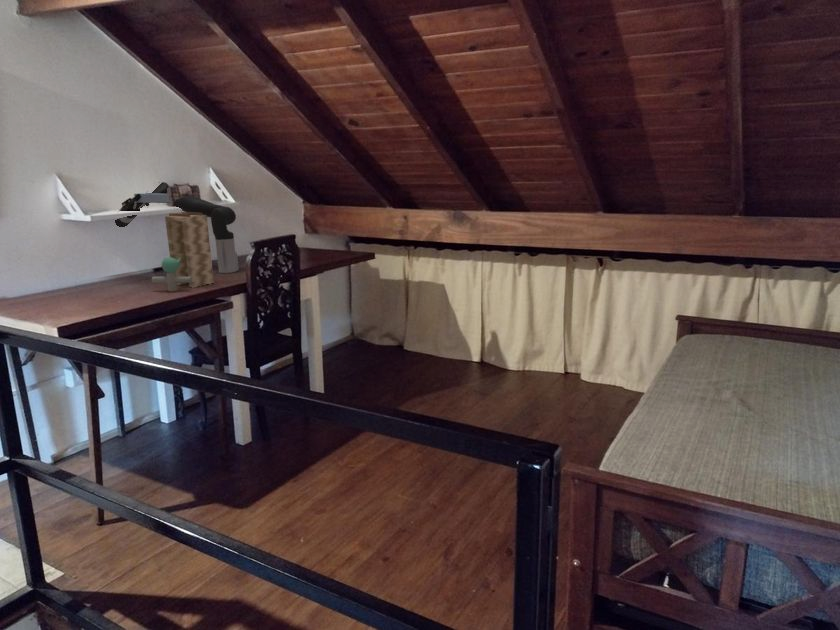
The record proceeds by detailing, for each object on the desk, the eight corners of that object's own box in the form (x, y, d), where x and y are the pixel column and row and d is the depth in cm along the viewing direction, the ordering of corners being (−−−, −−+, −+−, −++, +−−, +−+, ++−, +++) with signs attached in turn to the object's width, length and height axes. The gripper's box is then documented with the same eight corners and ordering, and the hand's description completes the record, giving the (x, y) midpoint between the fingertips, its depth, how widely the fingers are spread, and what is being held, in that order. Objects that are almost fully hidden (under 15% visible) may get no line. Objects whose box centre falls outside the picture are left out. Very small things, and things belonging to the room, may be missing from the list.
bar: (142, 201, 303) (141, 193, 302) (170, 202, 291) (169, 193, 290) (135, 202, 300) (134, 193, 299) (162, 203, 288) (161, 194, 287)
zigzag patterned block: (195, 281, 302) (187, 211, 294) (214, 283, 294) (206, 212, 286) (173, 285, 292) (164, 213, 284) (192, 288, 284) (183, 214, 276)
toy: (196, 289, 282) (192, 256, 278) (189, 292, 275) (185, 258, 272) (157, 289, 284) (153, 256, 280) (149, 292, 277) (145, 258, 274)
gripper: (144, 217, 313) (160, 200, 303) (118, 220, 302) (133, 202, 292) (138, 204, 314) (154, 187, 304) (111, 206, 302) (127, 188, 292)
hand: (144, 194), depth 298 cm, fingers closed on bar, 4 cm apart
